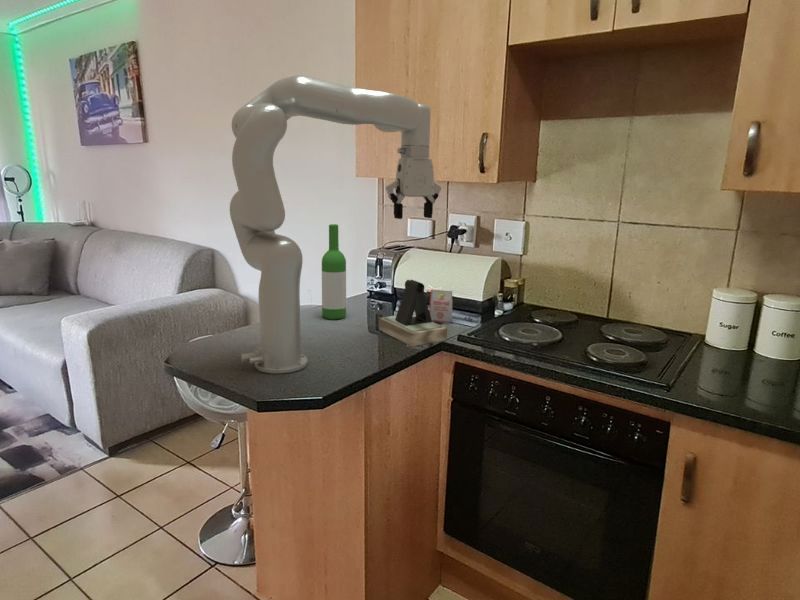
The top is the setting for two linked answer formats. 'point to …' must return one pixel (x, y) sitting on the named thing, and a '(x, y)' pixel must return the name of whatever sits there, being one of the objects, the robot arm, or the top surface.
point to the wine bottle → (333, 278)
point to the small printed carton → (441, 305)
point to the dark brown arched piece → (413, 305)
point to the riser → (413, 331)
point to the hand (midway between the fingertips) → (413, 218)
